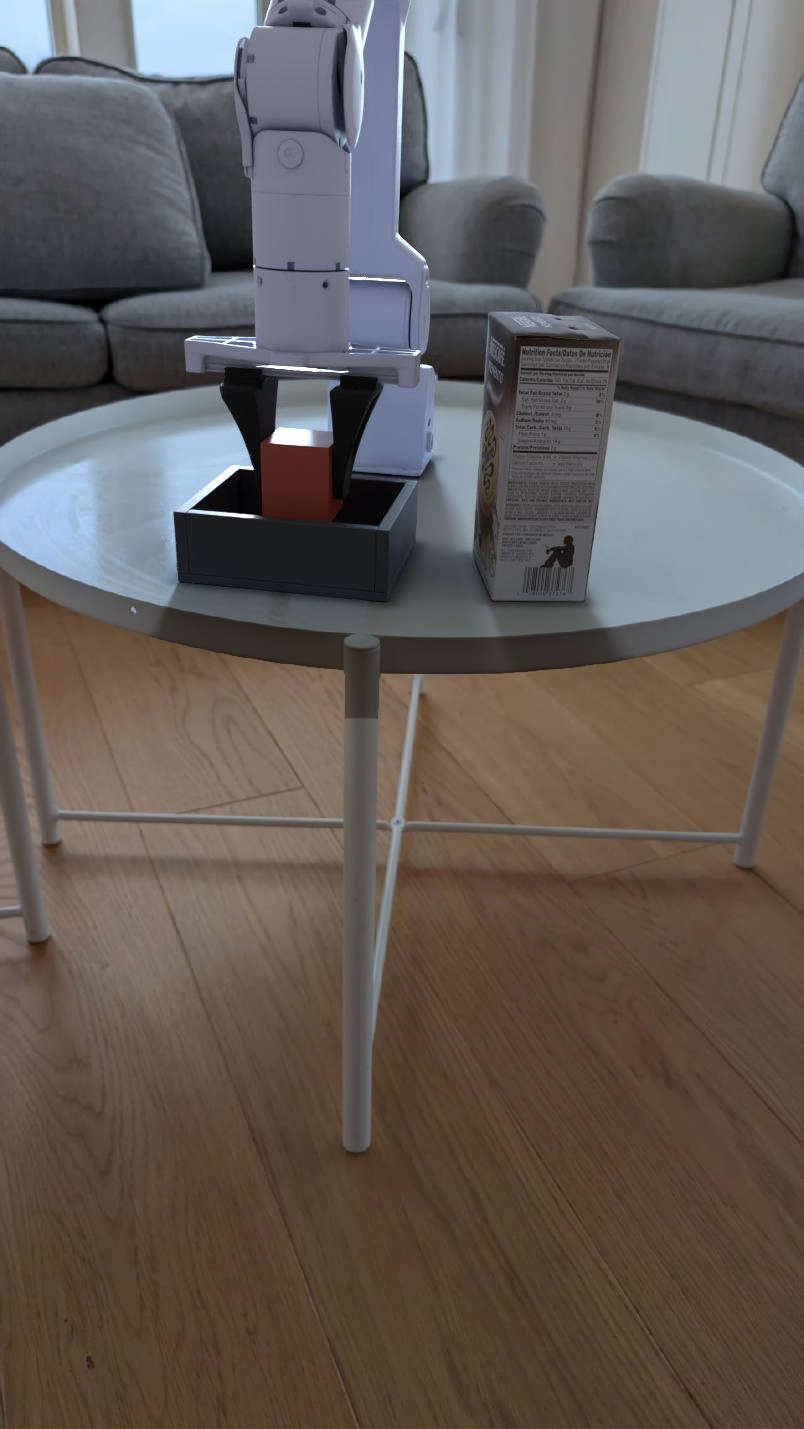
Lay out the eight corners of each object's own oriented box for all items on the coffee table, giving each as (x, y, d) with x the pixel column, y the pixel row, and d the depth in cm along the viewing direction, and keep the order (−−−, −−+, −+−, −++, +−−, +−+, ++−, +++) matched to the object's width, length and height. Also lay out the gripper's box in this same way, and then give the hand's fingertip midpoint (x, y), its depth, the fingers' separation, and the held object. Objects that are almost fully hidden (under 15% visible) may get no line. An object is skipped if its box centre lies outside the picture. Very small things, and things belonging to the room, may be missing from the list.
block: (343, 506, 70) (344, 432, 67) (328, 526, 66) (328, 447, 64) (280, 501, 70) (279, 427, 68) (262, 520, 66) (260, 442, 64)
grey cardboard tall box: (468, 553, 72) (486, 309, 65) (557, 554, 73) (586, 313, 65) (488, 602, 64) (511, 331, 57) (589, 603, 65) (625, 334, 57)
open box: (415, 543, 74) (418, 480, 72) (386, 602, 64) (389, 531, 62) (233, 527, 76) (231, 465, 74) (177, 581, 66) (172, 511, 63)
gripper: (160, 266, 59) (176, 499, 65) (411, 280, 57) (401, 519, 63) (202, 257, 65) (212, 471, 71) (429, 270, 63) (419, 488, 69)
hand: (303, 492), depth 68 cm, fingers closed on block, 4 cm apart
